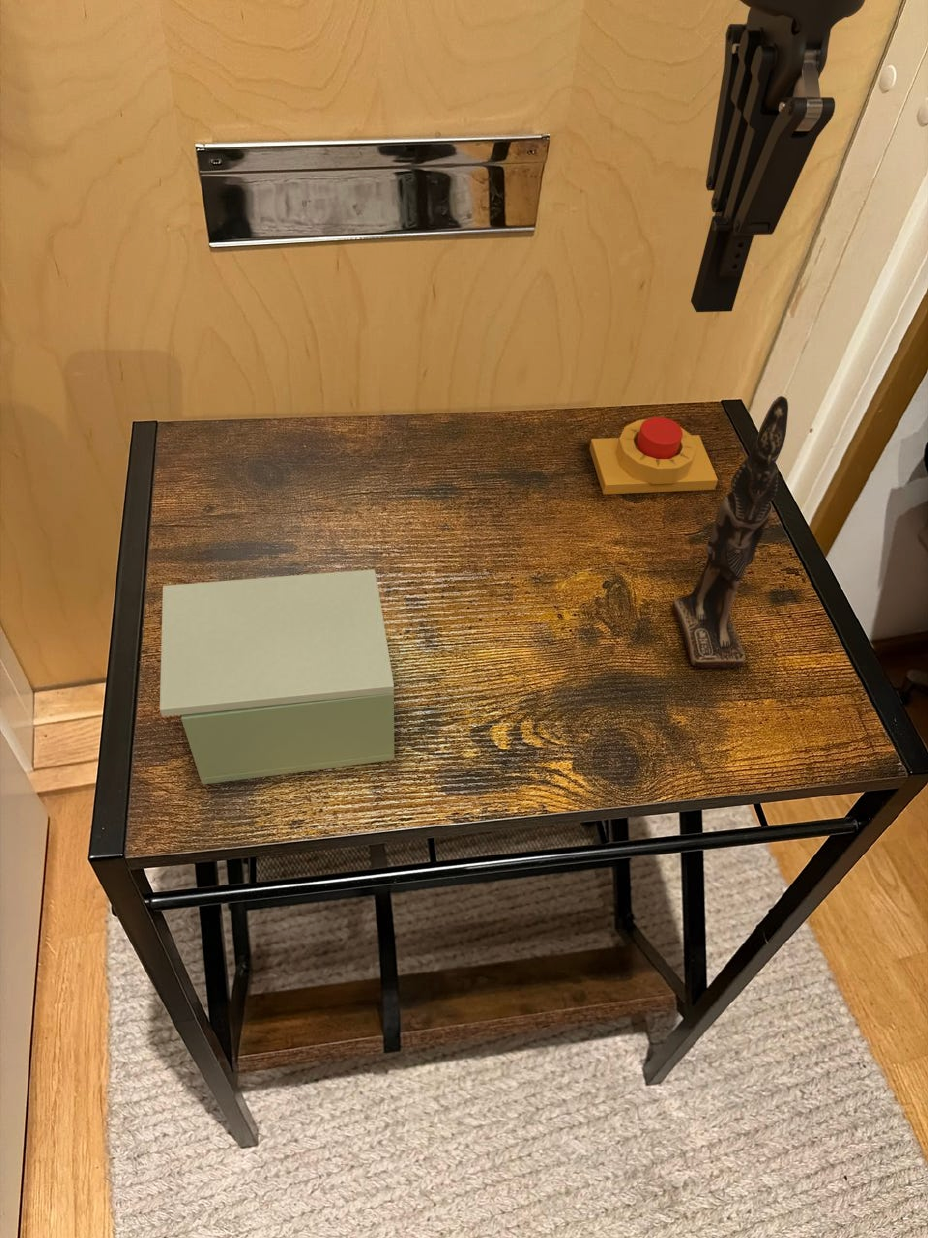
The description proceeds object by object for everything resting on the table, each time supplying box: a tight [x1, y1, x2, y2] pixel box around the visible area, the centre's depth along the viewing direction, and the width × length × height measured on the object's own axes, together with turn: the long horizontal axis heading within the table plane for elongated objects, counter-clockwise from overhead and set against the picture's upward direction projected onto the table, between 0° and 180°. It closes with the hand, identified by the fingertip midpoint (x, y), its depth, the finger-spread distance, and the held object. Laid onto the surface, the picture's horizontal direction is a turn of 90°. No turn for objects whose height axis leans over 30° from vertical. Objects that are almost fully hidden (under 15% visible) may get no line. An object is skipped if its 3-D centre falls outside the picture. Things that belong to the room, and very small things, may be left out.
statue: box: [672, 395, 789, 669], centre depth 64 cm, size 4×7×20 cm, turn 6°
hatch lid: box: [159, 568, 395, 718], centre depth 59 cm, size 14×10×1 cm
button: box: [637, 416, 683, 459], centre depth 81 cm, size 4×4×2 cm
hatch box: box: [180, 692, 395, 785], centre depth 62 cm, size 13×10×8 cm
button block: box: [588, 418, 719, 496], centre depth 82 cm, size 10×6×3 cm, turn 97°
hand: (711, 305), depth 70 cm, fingers closed
